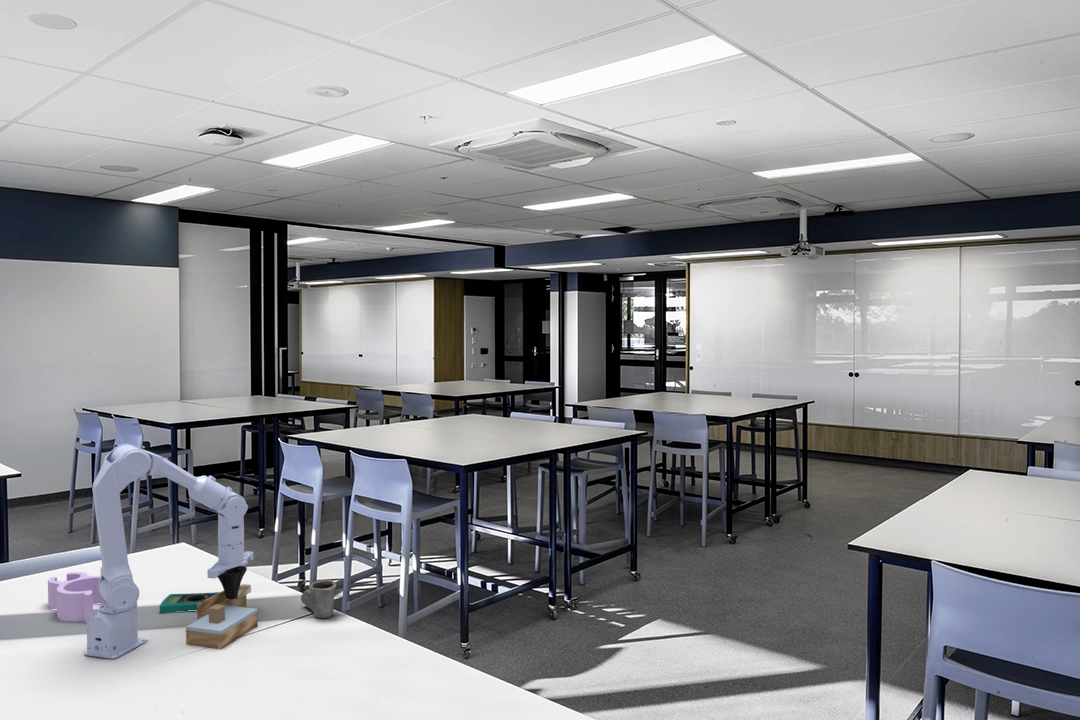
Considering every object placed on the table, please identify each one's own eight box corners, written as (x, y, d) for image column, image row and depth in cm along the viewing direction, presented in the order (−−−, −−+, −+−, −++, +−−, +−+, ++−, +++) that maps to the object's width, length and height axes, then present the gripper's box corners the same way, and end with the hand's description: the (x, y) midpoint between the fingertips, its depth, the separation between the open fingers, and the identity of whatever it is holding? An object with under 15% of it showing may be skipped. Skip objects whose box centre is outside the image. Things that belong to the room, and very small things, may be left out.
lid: (221, 639, 161) (221, 616, 160) (186, 634, 163) (185, 612, 163) (257, 616, 173) (257, 595, 173) (224, 612, 175) (224, 591, 175)
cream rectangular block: (238, 599, 178) (238, 591, 178) (229, 598, 178) (229, 590, 178) (250, 592, 183) (250, 584, 183) (242, 591, 183) (242, 583, 183)
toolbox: (221, 648, 161) (221, 620, 161) (177, 643, 163) (176, 615, 163) (278, 612, 182) (278, 586, 181) (238, 607, 184) (238, 582, 184)
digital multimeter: (222, 612, 182) (222, 600, 182) (158, 615, 180) (158, 603, 180) (229, 601, 190) (229, 590, 189) (167, 604, 187) (167, 592, 187)
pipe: (316, 603, 188) (316, 572, 188) (342, 617, 179) (342, 585, 179) (293, 609, 184) (293, 577, 183) (319, 624, 175) (319, 591, 174)
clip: (33, 609, 182) (33, 582, 181) (86, 594, 192) (85, 568, 192) (77, 627, 171) (76, 598, 171) (130, 610, 182) (129, 582, 182)
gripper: (225, 552, 168) (226, 611, 169) (264, 535, 182) (264, 589, 183) (199, 550, 170) (199, 608, 171) (239, 533, 184) (239, 586, 185)
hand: (231, 598), depth 177 cm, fingers closed
